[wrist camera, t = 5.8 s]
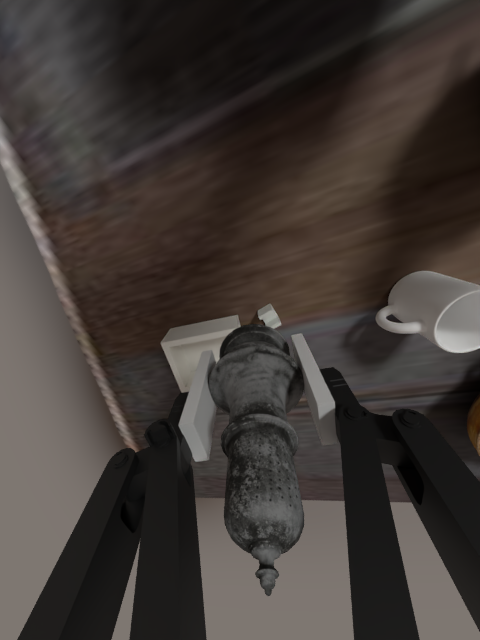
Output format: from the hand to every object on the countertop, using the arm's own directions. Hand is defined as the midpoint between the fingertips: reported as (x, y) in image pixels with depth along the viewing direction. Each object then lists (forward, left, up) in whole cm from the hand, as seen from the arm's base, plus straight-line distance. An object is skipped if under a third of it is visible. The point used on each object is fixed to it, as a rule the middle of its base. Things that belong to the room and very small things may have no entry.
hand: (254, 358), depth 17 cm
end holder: (+10, -9, -21) cm, 25 cm away
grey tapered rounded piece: (0, 0, -1) cm, 1 cm away
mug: (+8, +23, -21) cm, 32 cm away
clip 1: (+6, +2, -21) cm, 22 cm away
